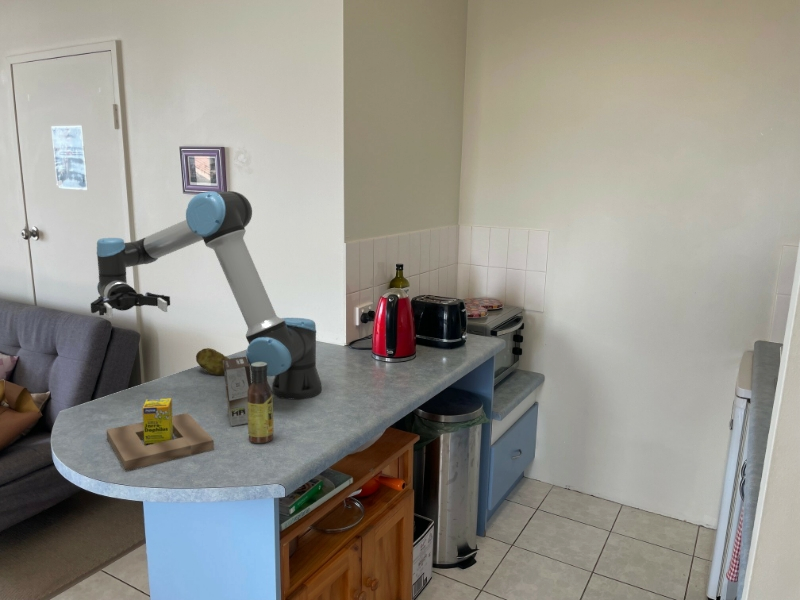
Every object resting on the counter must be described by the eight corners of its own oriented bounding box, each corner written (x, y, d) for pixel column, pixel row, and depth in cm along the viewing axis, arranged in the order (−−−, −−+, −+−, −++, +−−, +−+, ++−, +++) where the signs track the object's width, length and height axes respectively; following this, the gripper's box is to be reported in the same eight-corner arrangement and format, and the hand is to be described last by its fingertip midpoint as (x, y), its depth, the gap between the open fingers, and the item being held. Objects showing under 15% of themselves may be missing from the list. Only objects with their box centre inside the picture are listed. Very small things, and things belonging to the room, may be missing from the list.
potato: (218, 380, 193) (217, 356, 192) (192, 372, 200) (191, 349, 198) (238, 373, 200) (237, 350, 199) (212, 366, 207) (211, 344, 205)
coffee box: (255, 422, 161) (250, 365, 157) (231, 426, 158) (225, 369, 155) (250, 409, 169) (245, 355, 165) (227, 413, 167) (222, 359, 163)
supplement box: (144, 450, 144) (141, 408, 141) (148, 440, 149) (145, 398, 147) (170, 448, 145) (168, 406, 143) (173, 438, 151) (171, 397, 149)
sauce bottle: (274, 443, 150) (273, 367, 145) (248, 445, 148) (247, 369, 144) (272, 432, 156) (271, 359, 152) (247, 434, 154) (245, 361, 150)
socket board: (188, 421, 161) (187, 412, 160) (213, 449, 145) (213, 440, 145) (107, 438, 149) (106, 429, 149) (125, 471, 134) (125, 461, 133)
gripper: (165, 303, 182) (187, 318, 165) (73, 313, 167) (87, 329, 151) (164, 279, 180) (186, 291, 164) (71, 286, 166) (85, 300, 149)
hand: (139, 309), depth 157 cm, fingers open, 13 cm apart
